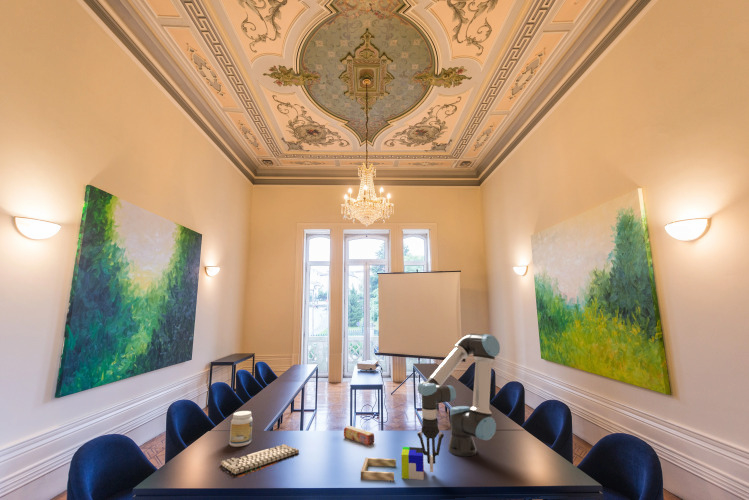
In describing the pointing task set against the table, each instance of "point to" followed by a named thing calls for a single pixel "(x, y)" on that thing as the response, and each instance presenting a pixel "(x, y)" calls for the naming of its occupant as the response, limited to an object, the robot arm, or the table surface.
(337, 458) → the table surface
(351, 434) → the snack package
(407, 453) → the puzzle toy
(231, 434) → the supplement tub
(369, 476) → the wooden open frame
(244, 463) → the mechanical keyboard
